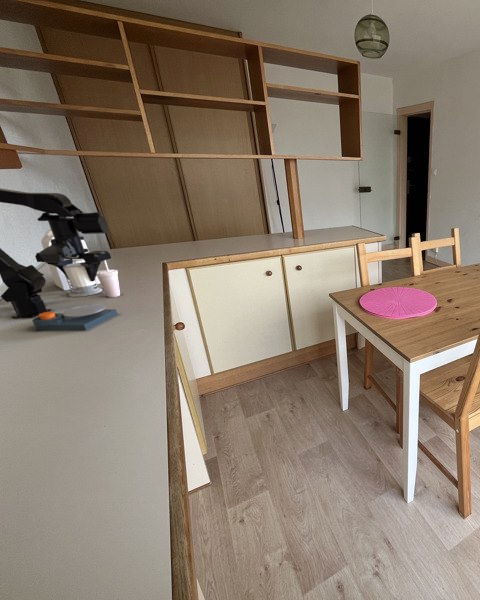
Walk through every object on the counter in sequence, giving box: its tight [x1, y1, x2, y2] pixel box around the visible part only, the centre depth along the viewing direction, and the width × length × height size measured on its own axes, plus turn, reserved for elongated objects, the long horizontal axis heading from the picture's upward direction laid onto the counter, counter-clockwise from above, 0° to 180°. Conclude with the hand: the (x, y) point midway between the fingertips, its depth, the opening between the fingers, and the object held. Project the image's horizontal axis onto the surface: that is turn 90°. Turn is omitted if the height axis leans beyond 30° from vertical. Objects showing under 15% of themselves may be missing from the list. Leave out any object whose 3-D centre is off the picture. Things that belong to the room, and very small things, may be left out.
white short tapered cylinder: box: [63, 263, 95, 287], centre depth 105 cm, size 7×7×7 cm
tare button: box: [37, 311, 56, 320], centre depth 93 cm, size 3×3×2 cm
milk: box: [40, 229, 101, 291], centre depth 128 cm, size 12×12×26 cm
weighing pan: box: [62, 303, 107, 317], centre depth 98 cm, size 10×10×1 cm
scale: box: [32, 308, 118, 331], centre depth 98 cm, size 14×13×4 cm
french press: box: [65, 259, 103, 298], centre depth 119 cm, size 10×12×25 cm
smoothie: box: [96, 260, 121, 298], centre depth 118 cm, size 6×6×14 cm
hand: (83, 281), depth 105 cm, fingers closed on white short tapered cylinder, 6 cm apart
